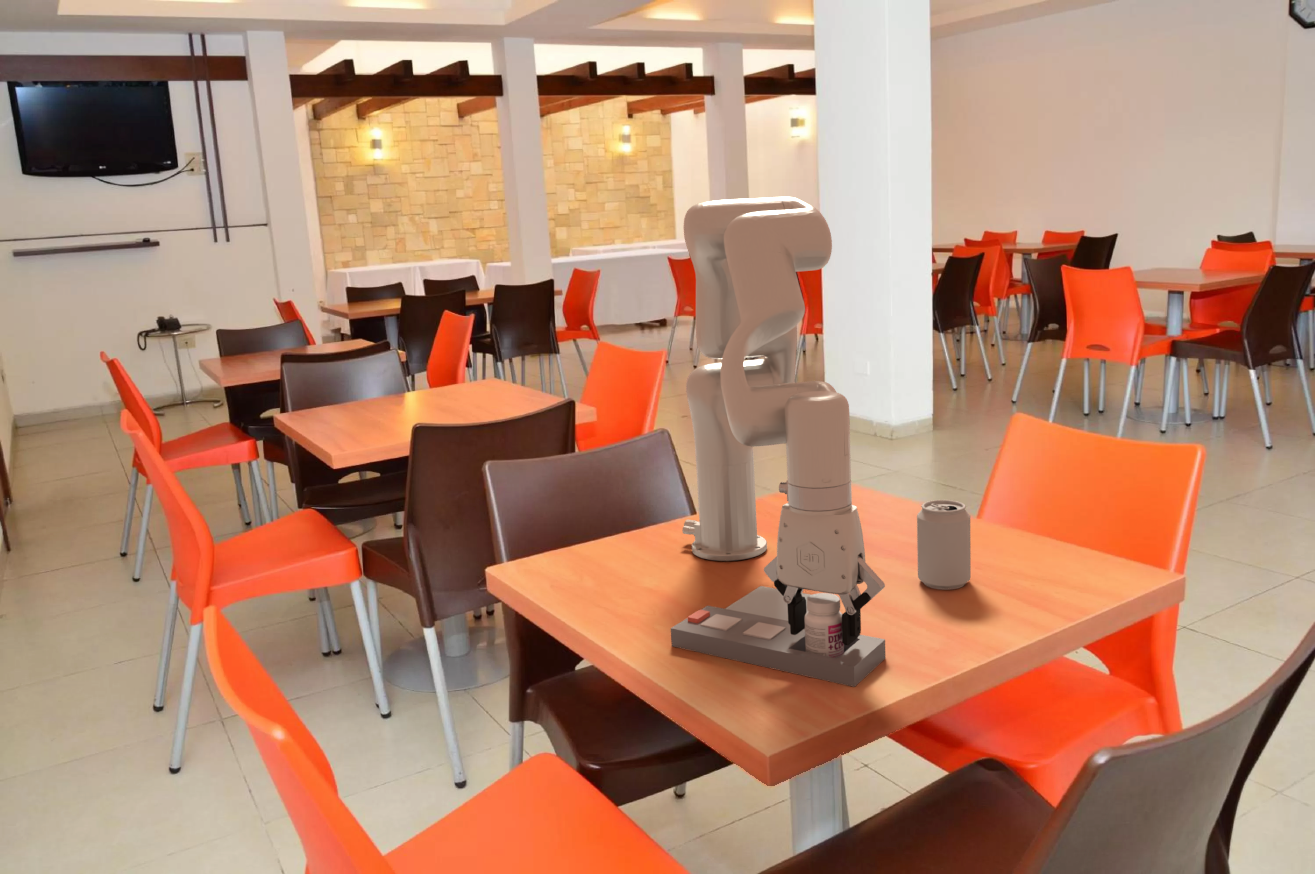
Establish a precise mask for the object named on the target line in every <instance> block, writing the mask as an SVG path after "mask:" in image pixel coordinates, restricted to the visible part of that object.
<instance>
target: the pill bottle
mask: <svg viewBox="0 0 1315 874" xmlns="http://www.w3.org/2000/svg"><path fill="white" fill-rule="evenodd" d="M807 610H808V612H807V613H806V614H805V646H806V652H809V653H813V654H818V655H823V656H828V657H833V658H838V657H839V656H841V655H842V654H843V653H844V643H842V614H843V613H842V612H841V598H840V596H839V595H838V594H831V593H824V592H819V593H818V592H817V593H813V594H810V596H809V597H808V598H807Z"/></svg>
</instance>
